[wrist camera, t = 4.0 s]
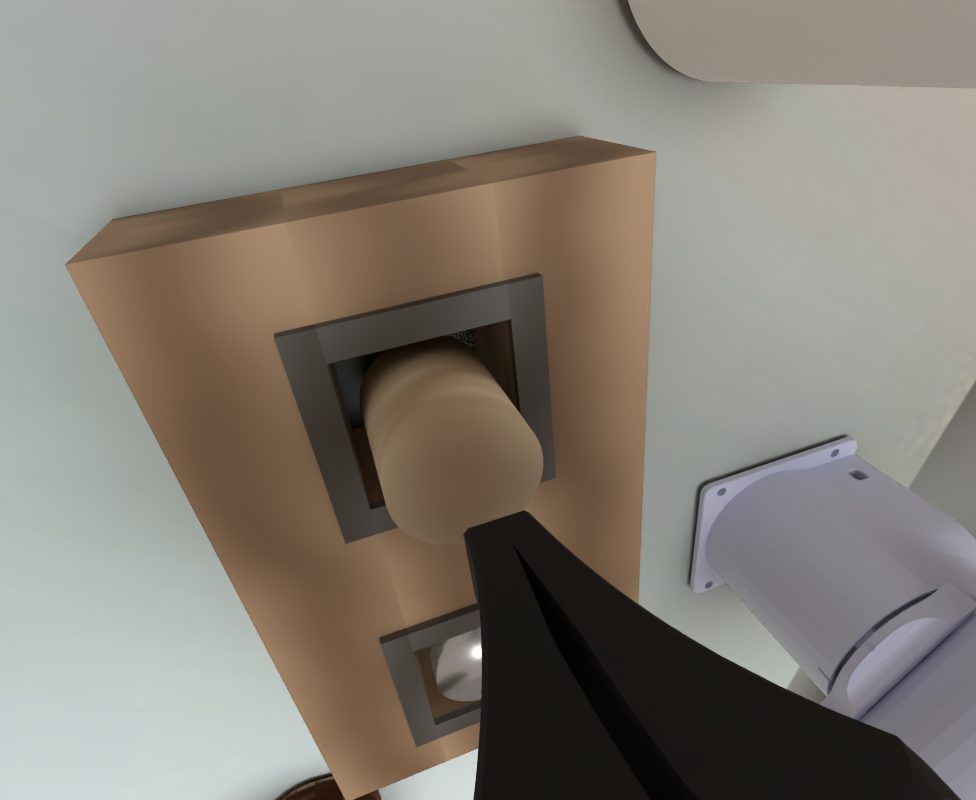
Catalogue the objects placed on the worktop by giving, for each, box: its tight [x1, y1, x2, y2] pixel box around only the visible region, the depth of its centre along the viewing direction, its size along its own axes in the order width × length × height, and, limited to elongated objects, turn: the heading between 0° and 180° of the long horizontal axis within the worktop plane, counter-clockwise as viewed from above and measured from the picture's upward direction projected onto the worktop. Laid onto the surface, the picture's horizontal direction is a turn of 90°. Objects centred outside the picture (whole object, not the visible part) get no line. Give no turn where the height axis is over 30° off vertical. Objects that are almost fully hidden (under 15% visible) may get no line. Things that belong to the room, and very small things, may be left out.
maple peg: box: [359, 336, 543, 545], centre depth 16 cm, size 4×4×4 cm
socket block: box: [65, 136, 656, 800], centre depth 21 cm, size 14×24×5 cm, turn 6°
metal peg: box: [427, 627, 482, 701], centre depth 24 cm, size 4×4×4 cm
